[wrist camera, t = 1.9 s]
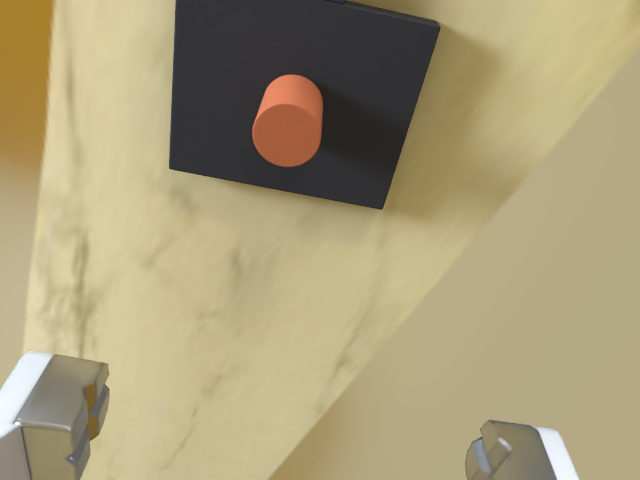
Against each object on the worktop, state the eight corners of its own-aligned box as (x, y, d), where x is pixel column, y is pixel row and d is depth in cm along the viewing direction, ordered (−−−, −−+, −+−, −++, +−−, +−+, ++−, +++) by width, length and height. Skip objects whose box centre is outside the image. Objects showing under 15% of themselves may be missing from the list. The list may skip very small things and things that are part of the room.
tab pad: (455, -38, 23) (482, -20, 19) (381, 199, 30) (388, 251, 26) (186, -102, 22) (150, -99, 18) (174, 159, 29) (146, 207, 25)
